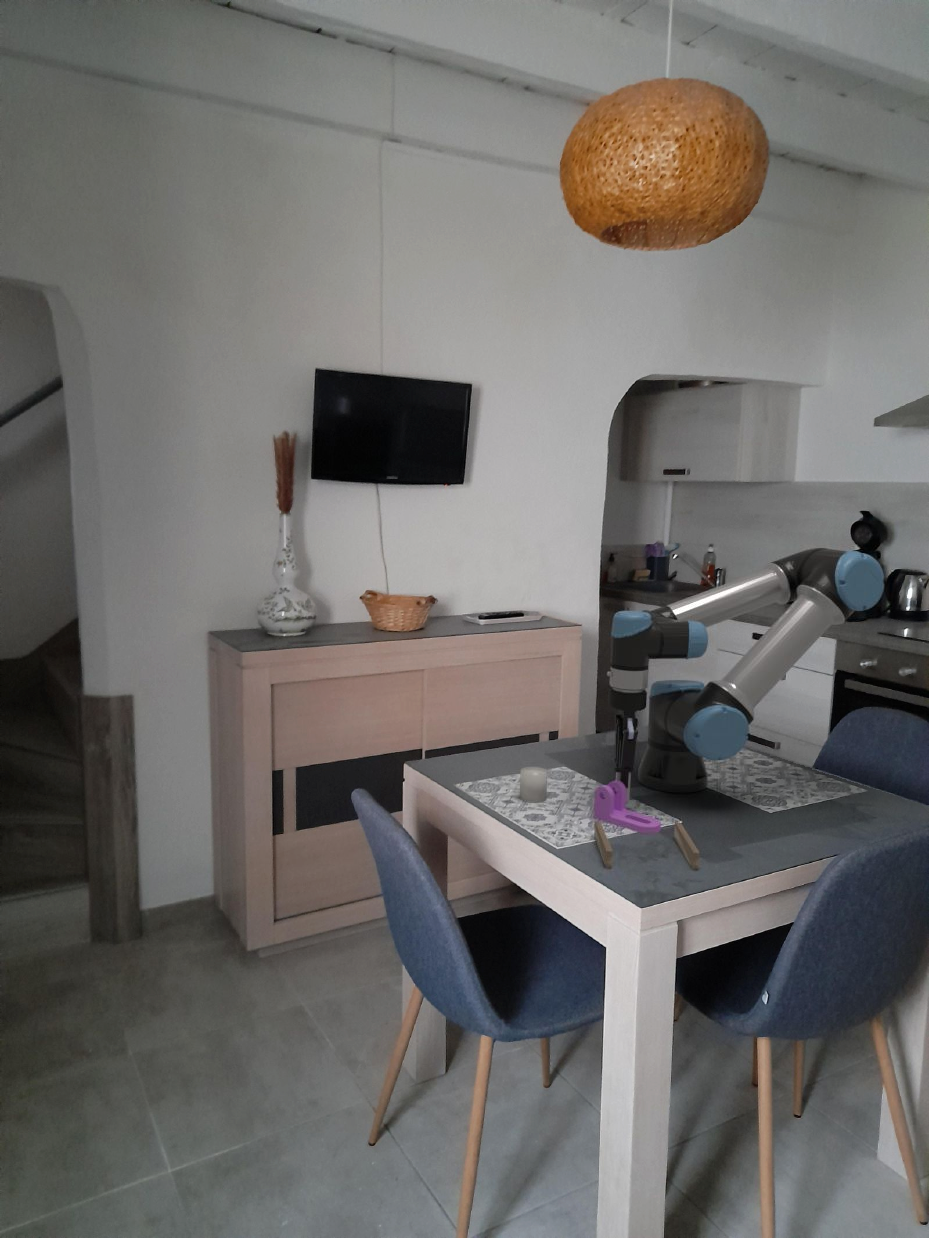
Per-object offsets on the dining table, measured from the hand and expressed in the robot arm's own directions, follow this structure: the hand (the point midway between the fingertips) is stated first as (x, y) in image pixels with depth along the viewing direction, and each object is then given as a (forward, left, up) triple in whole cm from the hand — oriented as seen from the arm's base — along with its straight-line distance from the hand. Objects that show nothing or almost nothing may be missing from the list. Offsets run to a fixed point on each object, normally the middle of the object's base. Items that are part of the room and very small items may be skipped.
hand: (621, 801), depth 180 cm
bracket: (0, +8, -2) cm, 8 cm away
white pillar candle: (+18, -5, -2) cm, 19 cm away
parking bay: (0, +22, -2) cm, 22 cm away
